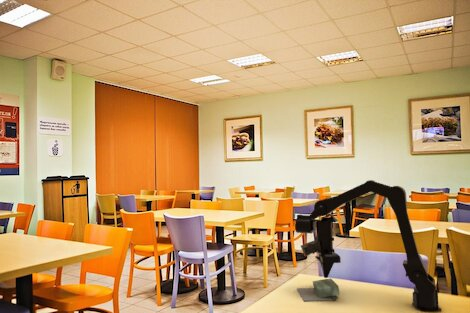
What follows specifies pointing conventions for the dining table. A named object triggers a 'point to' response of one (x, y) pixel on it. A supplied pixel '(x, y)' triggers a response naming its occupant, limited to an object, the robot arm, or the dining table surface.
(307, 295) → the slate board
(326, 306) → the dining table surface
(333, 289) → the grey-green rectangular block
